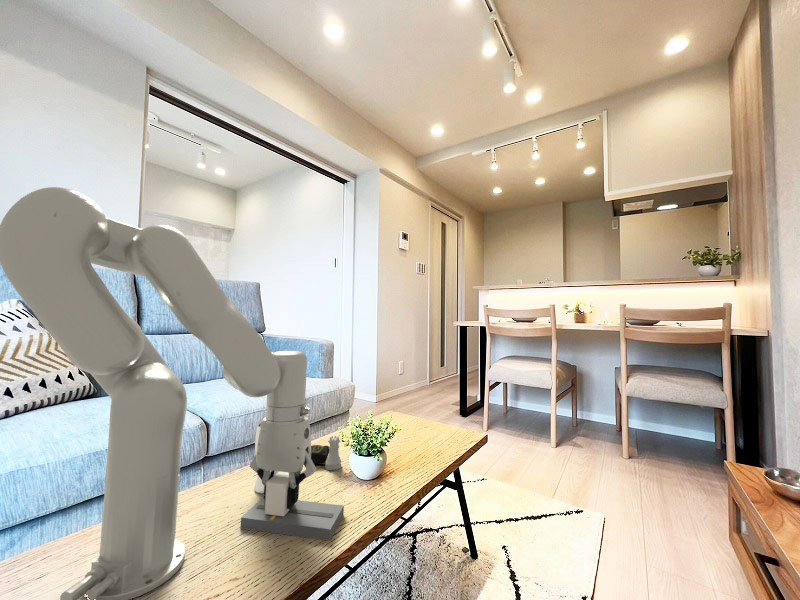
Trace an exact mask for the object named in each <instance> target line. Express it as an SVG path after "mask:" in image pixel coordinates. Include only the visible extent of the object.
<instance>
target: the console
mask: <svg viewBox="0 0 800 600" xmlns="http://www.w3.org/2000/svg"><path fill="white" fill-rule="evenodd" d="M344 511H345V506H344V505H341V504H334V503H333V504H332V503H324V502H317V501H308V500H301V499H300V500H299V499H298V501H297V502H296V503H295V504H294V505H293V506H292V508H291V509H290V510H289V511H288V512H287V513H286V515H285V516H277V515H269V514H265V499H264V495H263V496H262V497H261V498H259V500H258V501H257V502H255V504H254V505H253V506H252V507H250V509H248V510H247V511H246V512H245V513H244V514H243V515H242V516H241V517H240V529H241V530H242V529H243V530H250V531H257V532H258V531H259V532H264V533H265V532H266V533H272V534H280V535H285V536H294V537H301V538H309V539H316V540H324V541H331V540H332V537H333V536H334V534H335V532H336V530H337V529H338V527H339V525H340V523H341V521H342V519H343V517H344V513H345V512H344Z"/></svg>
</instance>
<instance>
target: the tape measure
mask: <svg viewBox="0 0 800 600" xmlns="http://www.w3.org/2000/svg"><path fill="white" fill-rule="evenodd" d="M329 446H330V445H321V444H313V445H312V444H311V460H312V462H313V463H314V465H320V464H326V463H325V462H326V460H327V458H328V456H329V449H330V448H329Z"/></svg>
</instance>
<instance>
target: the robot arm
mask: <svg viewBox="0 0 800 600" xmlns="http://www.w3.org/2000/svg"><path fill="white" fill-rule="evenodd" d="M0 265H1V268H2V271H3V272H4V275H5V277H6V278H7V279H8V281H9V282H10V284H11V286H12V287H13V288H14V290H15V291H16V292H17V294H18V295H19V297H21V299H22V300H23V301H24V302H25V304H26V305H27V306H28V307H29V309H30V310H31V311H32V314H34V316H35V317H36V318H37V319H38V321H39V323H40V324H41V325H42V326H43V327H44V329H45V330H46V331H47V332H48V333H49V335H51V337H52V338H53V340H55V342H56V344H58V346H59V348H60V349H61V350H62V351H63V353H64V354H65V356H66V357H67V358H68V359H67V360H69V361H70V362H71V364H72V365H73V366H74V367H76V368H77V369H79V370H81V371H83V372H85V373H88V374H90V375H91V377H92V378H94V380H95V381H96V382H97V384H98V385H99V386H100V387H101V389H102V390H103V391H105V393H106V394H107V395H108V396H109V398H110V399H111V402H110V411H109V424H108V425H109V428H108V442H107V455H106V466H105V480H104V481H105V482H104V483H105V485H104V495H103V509H102V519H101V520H102V522H101V533H100V543H99V545H100V547H99V556H97V557H96V558H94V559H93V560H91V566H90V567H91V569H90V570H89V571H88V572H87V573H86V574H85V576H84V578H83V579H81V580H80V581H78V582H76V583H75V584H73V585H72V586H71V587H69V588H68V589H66V590H65V591H63V592H62V593H61V595H60V598H59V599H60V600H79V599H81V598H82V597H84V594H86V595H88V598H89V599H90V600H94V599H96V600H132V598H133V599H135V598H138V597H140V596H143V595H144V594H147V593H149V592H152V591H153V590H155V589H156V588H158V587H159V586H162V584H164V583H166V582H167V581H168V580H170V578H172V576H175V574H176V573H177V572H178V571H179V570H180V569H181V568H182V565H183V564H184V561H185V557H186V556H185V555H186V548H185V545H184V544H183V543H182V542H181V541H179V540H178V539H176V530H177V529H176V528H177V517H178V503H179V501H178V500H179V488H180V487H179V486H180V476H181V473H180V471H181V455H182V443H183V442H182V441H183V433H184V429H185V428H184V427H185V420H186V415H187V407H188V406H187V403H188V400H187V399H188V398H187V392H186V387H185V386H184V383H183V381H182V380H181V379H180V378H179V377H178V375H177V374H175V373H174V371H173V370H172V368H170V366H169V365H168V364H167V362H166V361H165V360H164V359H163V357H162V356H161V354H160V353H159V351H158V350H157V349H156V348H155V346H154V345H153V343H152V342H151V341H150V339H149V338H148V336H147V335H146V334H145V332H144V331H143V330H142V327H141V326H140V325H139V324H138V322H136V321H135V320H134V318H132V317H130V315H128V314H127V312H126V311H125V310H124V309H123V308H122V306H121V305H120V304H119V302H118V301H117V300H116V299H115V297H114V296H113V294H112V293H111V291H110V290H109V288H108V287H107V285H106V284H105V282H104V281H103V280H102V278H101V277H100V275H99V274H98V273H97V272H96V270H95V268H94V267H93V265H97V266H99V267H100V266H101V267H104V268H108V269H112V270H114V271H115V270H116V271H119V272H123V273H126V274H127V273H128V274H132V275H136V276H141V277H145V278H146V280H148V282H149V283H150V285H151V286H152V287H153V288H154V289H155V291H156V293H158V295H159V296H160V297H161V299H162V300H163V302H164V303H165V304H166V305H167V307H168V308H169V309H170V311H171V312H172V314H173V315H174V317H176V319H177V320H178V321H179V323H180V324H181V325H182V326H183V327H184V328H185V329H186V330H187V331H188V333H190V334H191V335H193V337H195V338H197V339H198V340H199V341H200V342H202V343H203V344H204V346H206V347H207V349H208V350H209V351H211V353H212V354H213V355H214V356H215V358H216V359H217V360H218V361H219V363H220V364H221V365H222V366H223V367H222V368H223V369H222V370H223V371H222V373H223V378H224V380H225V381H226V382H227V384H228V385H230V386H231V387H232V388H234V389H235V390H237V391H239V392H240V393H242V394H243V395H245V396H247V397H249V398H263V397H265V396H266V408H265V417H264V418H263V419H262V420H261V422H262V425H261V429H260V433H259V438H258V444H257V453H256V455H255V456H254V458H253V459H252V461H251V462H249V463H250V464H249V467H250V468H251V469H252V470H253V471H254V472H255V473H256V474H258V476H259V477H260V478H261V480H262V484H263V485H264V494H263V496H264V499H266V482H267V481H269V480H270V479H271V478H272V477H273V476H274V475H275V472H276V471H280V472H289V480H290V487H289V488H288V492H287V509H291V508H292V506H293V505H294V504H295V503H296V502H297V501H298V500H299V496H300V495H299V492H300V484H302V482H304V480H305V479H308V478H309V477H311V476H312V475H314V474H315V472H316V471H317V467H316V466H315V465H316V464H314V463H313V462H312V460H311V446H312V440H311V439H312V436H311V435H312V434H311V426H310V420H309V417H307V416H310V415H311V412H312V408H311V407H307V404H306V391H307V389H306V387H307V371H308V369H307V368H308V357H307V355H306V353H304V352H303V351H298V350H278V351H275V352H272V351H271V350H270V348H269V347H268V346H267V344H266V342H265V341H264V340H263V338H262V337H261V335H260V334H259V332H258V331H257V330H256V329H255V328H254V326H253V325H252V324H251V323H250V321H248V320H247V318H246V317H245V316H244V315H243V314H242V313H241V311H240V310H239V309H238V308H237V306H236V305H235V304H234V303H233V302H232V300H230V299H229V297H228V296H227V294H226V293H225V292H224V290H223V289H222V287H221V286H220V284H219V283H218V282H217V280H216V279H215V277H214V276H213V273H211V271H210V270H209V268H208V267H207V265H206V264H205V262H204V261H203V260H202V258H201V256H200V255H199V254H198V252H197V251H196V249H195V248H194V246H193V245H192V244H191V242H190V241H189V239H188V238H187V237H186V236H185V235H184V234H183V232H181V231H180V230H178V229H176V227H172V226H170V225H165V224H154V225H149V226H147V227H144V228H141V227H136V226H133V225H130V224H127V223H124V222H121V221H119V220H115V219H113V218H110V217H106V215H105V213H104V211H103V210H102V209H101V207H100V206H99V205H98V204H97V203H96V202H95V201H94V200H92V199H91V198H89V197H88V196H86V195H85V194H83V193H81V192H79V191H76V190H74V189H71V188H67V187H57V186H53V187H52V186H51V187H43V188H39V189H37V190H33V191H31V192H29V193H27V194H25V196H23V197H21V198H20V199H18V201H16V202H14V204H13V205H12V206H11V207H10V208H9V209H8V211H7V212H6V214H4V216H3V218H2V220H1V223H0ZM306 415H307V416H306ZM304 467H305V470H303V468H304Z"/></svg>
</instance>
